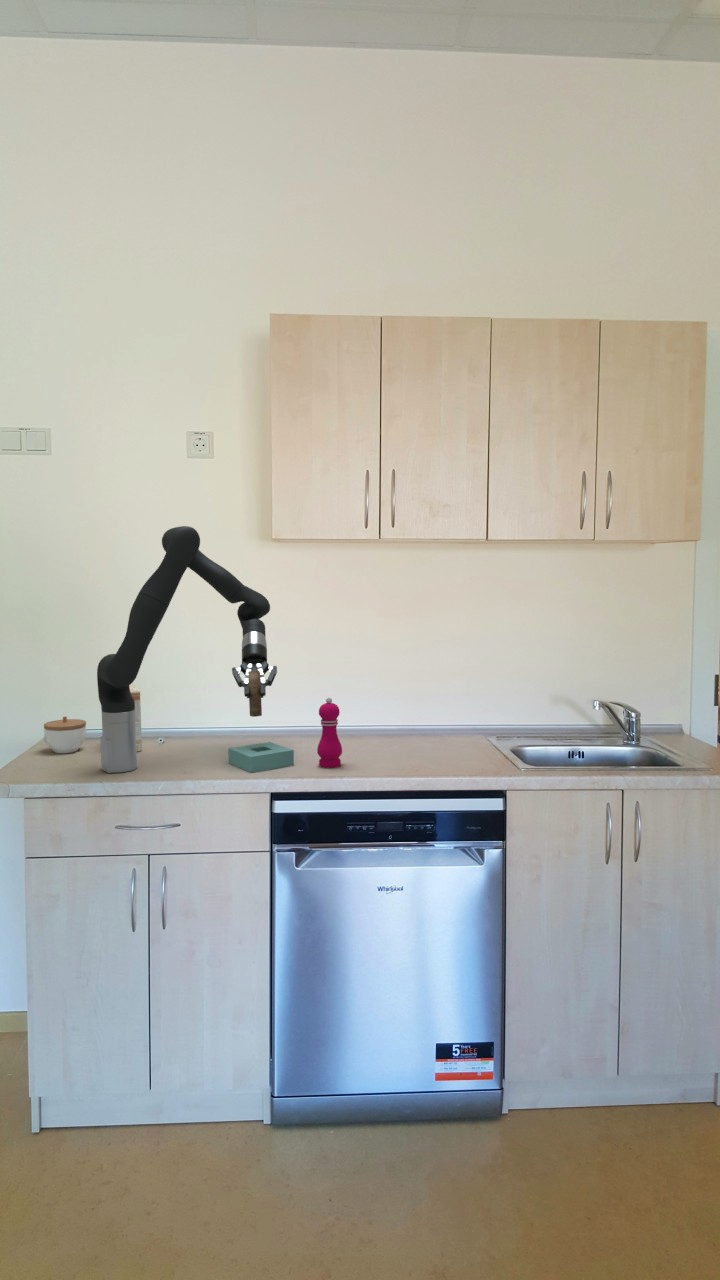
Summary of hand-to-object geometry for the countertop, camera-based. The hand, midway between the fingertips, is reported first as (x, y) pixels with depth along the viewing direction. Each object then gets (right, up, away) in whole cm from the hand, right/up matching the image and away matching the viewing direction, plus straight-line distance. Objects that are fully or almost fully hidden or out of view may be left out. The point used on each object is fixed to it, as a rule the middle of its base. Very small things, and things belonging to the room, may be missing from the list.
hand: (255, 696), depth 235 cm
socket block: (+1, -20, +4) cm, 21 cm away
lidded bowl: (-63, -19, +24) cm, 70 cm away
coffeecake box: (-44, -19, +27) cm, 55 cm away
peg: (0, -6, +3) cm, 6 cm away
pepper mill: (+22, -20, +1) cm, 30 cm away
